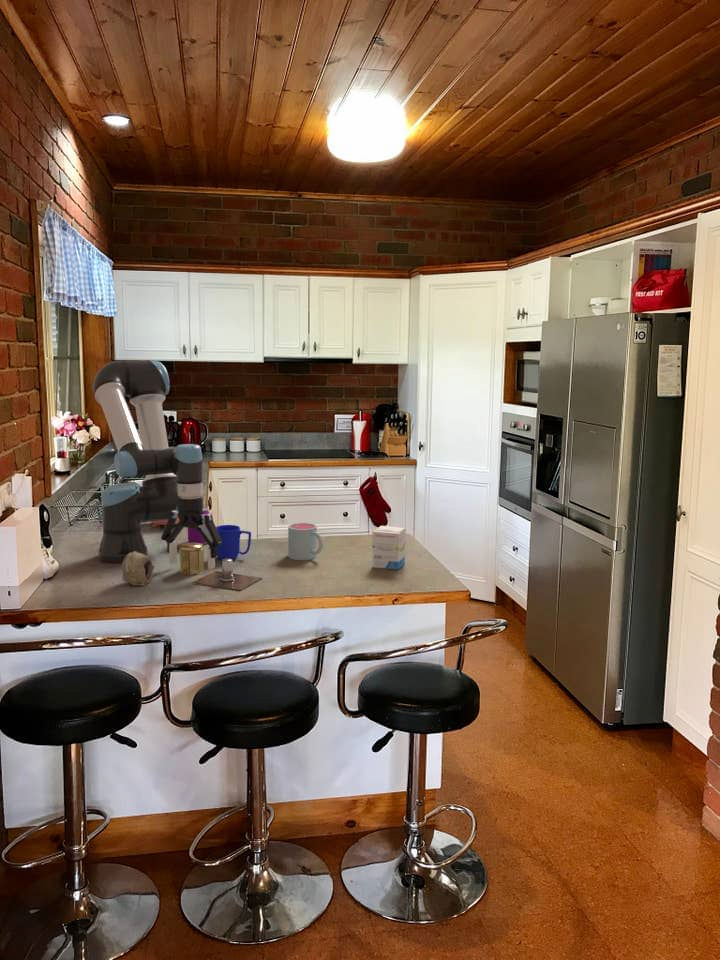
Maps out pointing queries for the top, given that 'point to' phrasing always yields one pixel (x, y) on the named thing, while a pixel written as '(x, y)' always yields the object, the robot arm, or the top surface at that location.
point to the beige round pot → (137, 569)
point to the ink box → (388, 547)
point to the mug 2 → (303, 541)
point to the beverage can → (194, 534)
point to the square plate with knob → (227, 578)
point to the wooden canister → (191, 558)
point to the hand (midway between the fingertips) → (192, 565)
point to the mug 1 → (231, 541)
